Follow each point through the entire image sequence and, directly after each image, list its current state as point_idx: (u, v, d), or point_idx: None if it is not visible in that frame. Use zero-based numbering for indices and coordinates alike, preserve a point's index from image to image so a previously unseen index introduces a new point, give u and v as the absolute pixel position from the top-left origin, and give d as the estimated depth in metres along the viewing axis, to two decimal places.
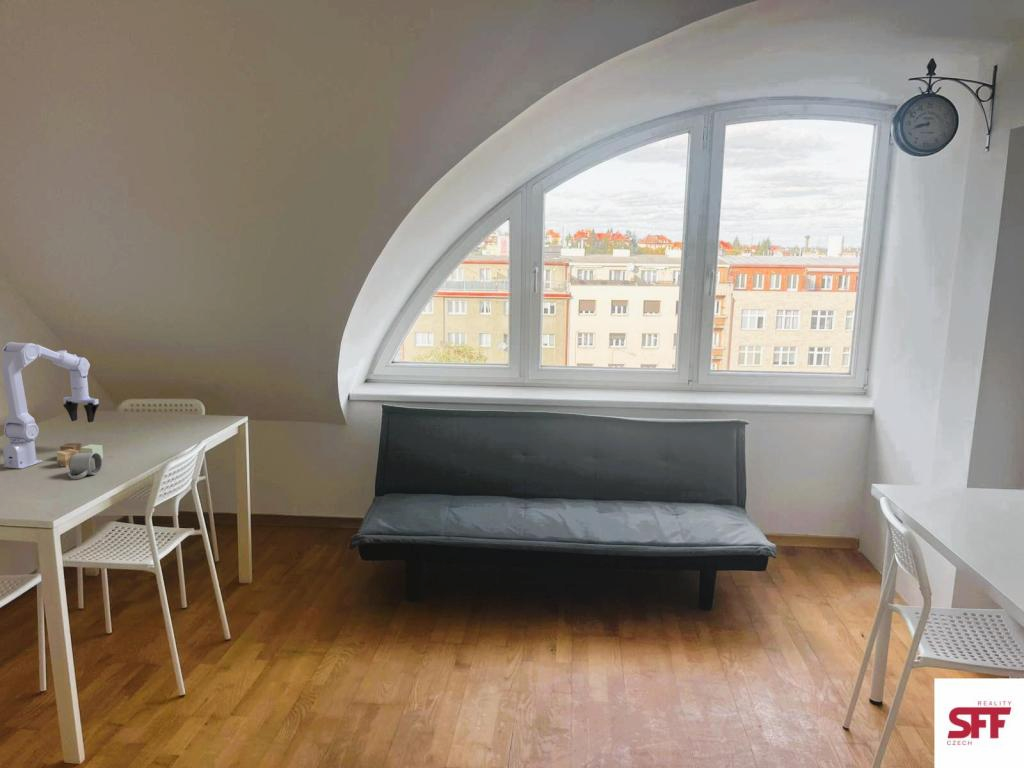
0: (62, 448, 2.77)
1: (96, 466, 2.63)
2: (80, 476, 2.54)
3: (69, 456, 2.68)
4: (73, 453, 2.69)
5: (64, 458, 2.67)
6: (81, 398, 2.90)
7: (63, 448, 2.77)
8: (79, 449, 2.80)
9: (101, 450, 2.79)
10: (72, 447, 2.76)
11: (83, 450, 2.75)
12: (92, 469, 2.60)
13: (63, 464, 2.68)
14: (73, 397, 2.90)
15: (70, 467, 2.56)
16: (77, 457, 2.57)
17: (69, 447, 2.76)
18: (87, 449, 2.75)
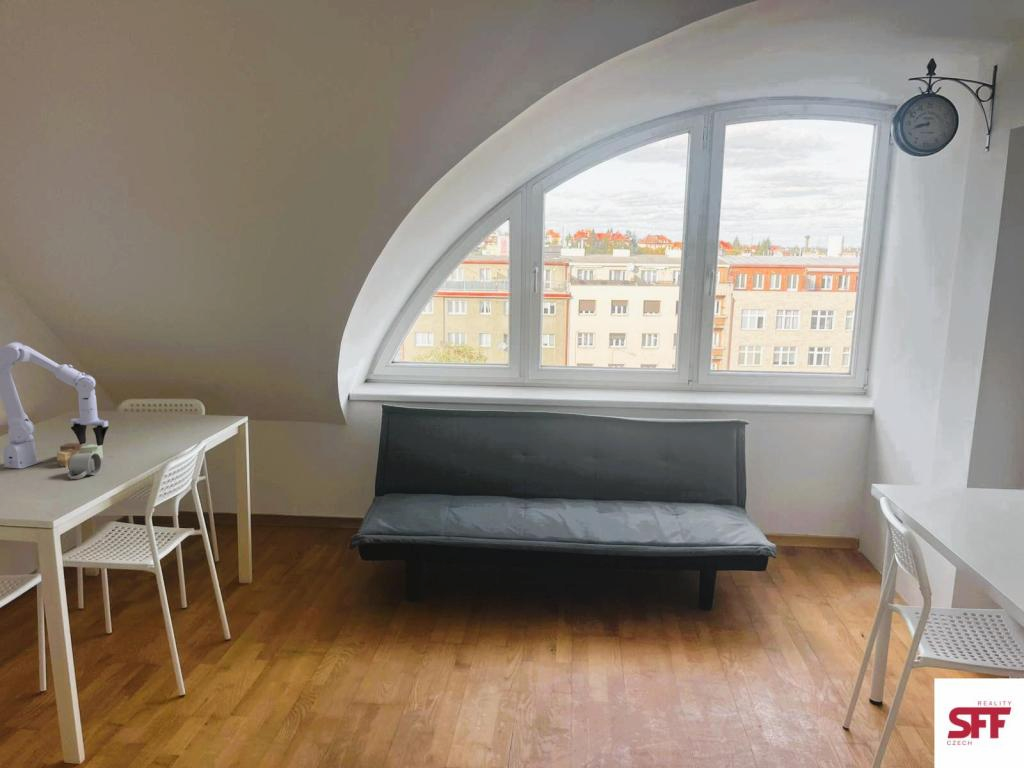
0: (62, 448, 2.77)
1: (95, 466, 2.62)
2: (79, 476, 2.53)
3: (69, 456, 2.68)
4: (73, 453, 2.69)
5: (64, 458, 2.67)
6: (90, 420, 2.73)
7: (63, 448, 2.77)
8: (79, 449, 2.80)
9: (101, 450, 2.79)
10: (72, 447, 2.76)
11: (83, 450, 2.75)
12: (91, 469, 2.59)
13: (63, 464, 2.68)
14: (81, 419, 2.73)
15: (69, 467, 2.56)
16: (76, 458, 2.56)
17: (69, 447, 2.76)
18: (87, 449, 2.75)
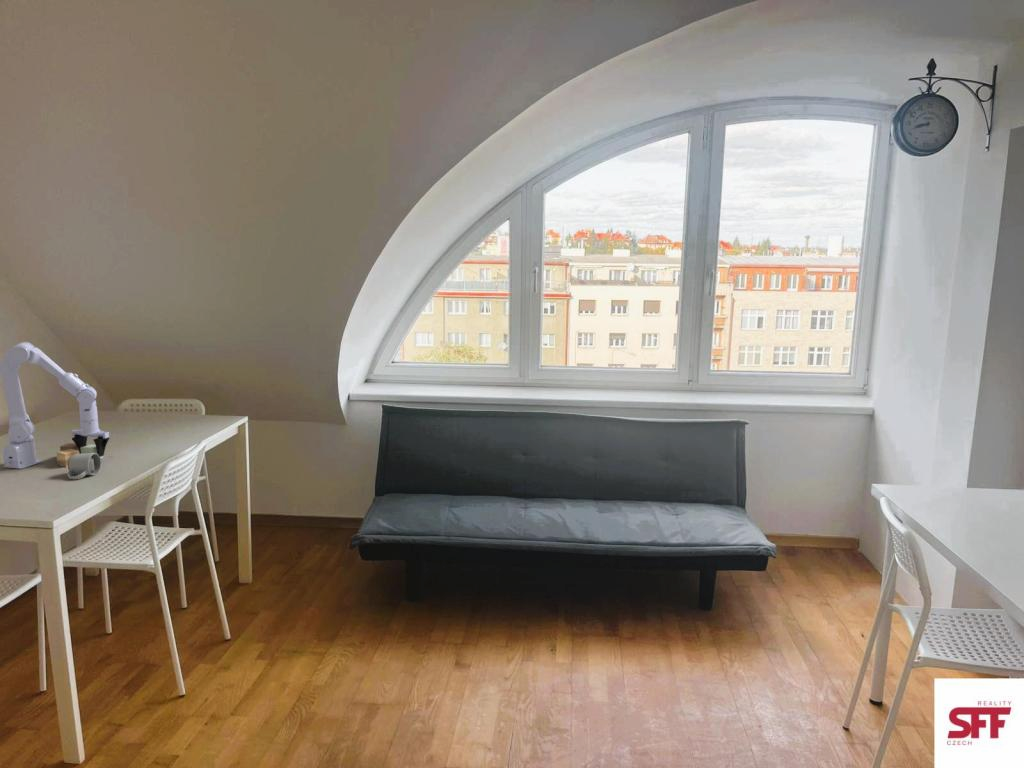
0: (62, 448, 2.77)
1: (95, 466, 2.62)
2: (79, 476, 2.53)
3: (69, 456, 2.68)
4: (73, 453, 2.69)
5: (64, 458, 2.67)
6: (91, 431, 2.74)
7: (63, 448, 2.77)
8: None
9: None
10: (72, 447, 2.76)
11: (83, 450, 2.75)
12: (91, 469, 2.59)
13: (63, 464, 2.68)
14: (82, 430, 2.73)
15: (69, 467, 2.56)
16: (76, 458, 2.56)
17: (69, 447, 2.76)
18: (87, 449, 2.75)
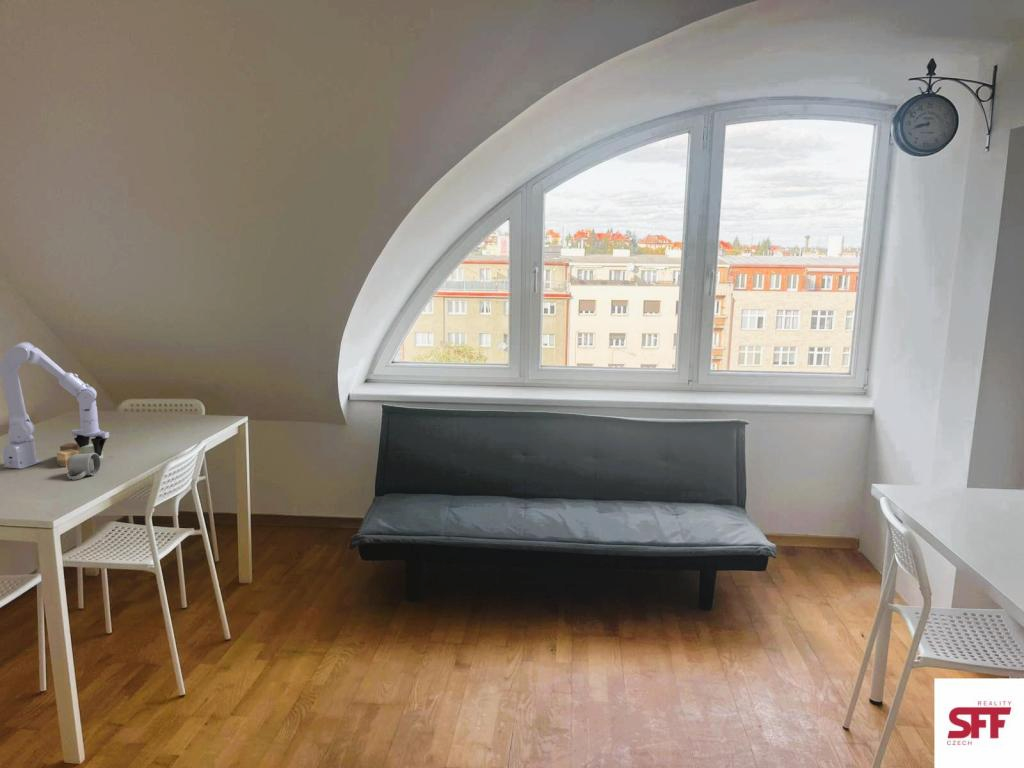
0: (62, 448, 2.77)
1: (95, 467, 2.62)
2: (79, 477, 2.53)
3: (69, 456, 2.68)
4: (73, 453, 2.69)
5: (64, 458, 2.67)
6: (91, 431, 2.74)
7: (63, 448, 2.77)
8: (79, 449, 2.80)
9: None
10: (72, 447, 2.76)
11: (83, 450, 2.75)
12: (91, 470, 2.59)
13: (63, 464, 2.68)
14: (82, 430, 2.73)
15: (69, 468, 2.56)
16: (76, 458, 2.56)
17: (69, 447, 2.76)
18: (87, 449, 2.74)
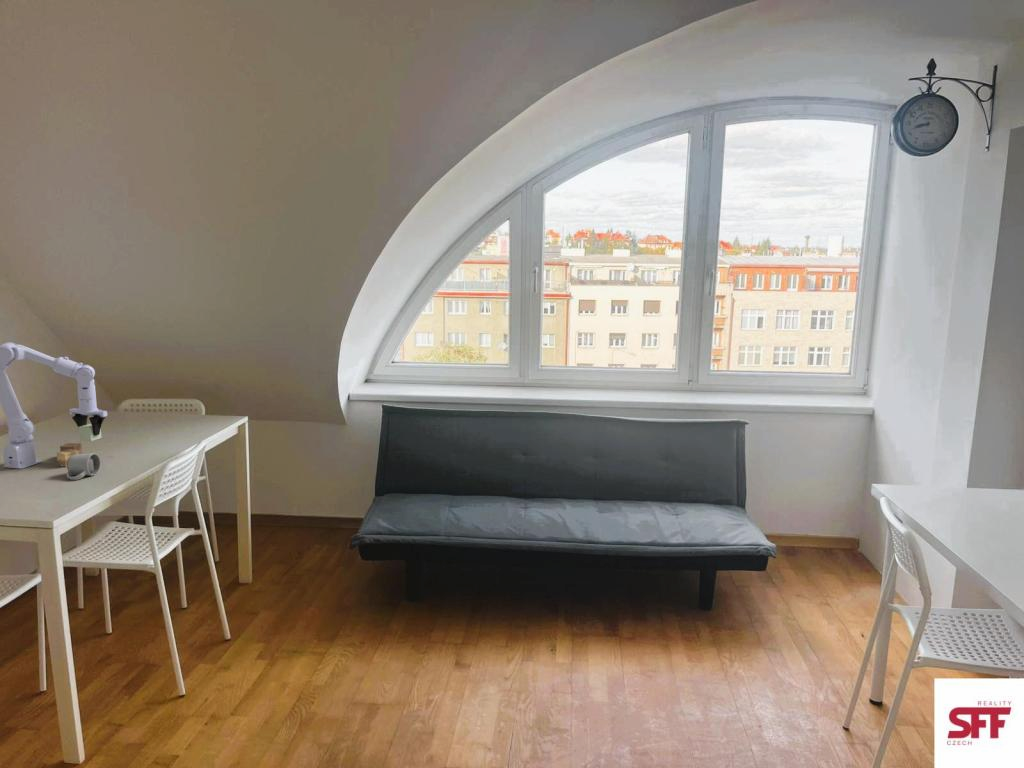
0: (62, 448, 2.77)
1: (94, 467, 2.62)
2: (78, 477, 2.53)
3: (69, 456, 2.68)
4: (73, 453, 2.69)
5: (64, 458, 2.67)
6: (89, 410, 2.72)
7: (63, 448, 2.77)
8: (79, 449, 2.80)
9: None
10: (72, 447, 2.76)
11: (81, 429, 2.74)
12: (90, 470, 2.59)
13: (63, 464, 2.68)
14: (80, 409, 2.72)
15: (68, 468, 2.55)
16: (75, 458, 2.56)
17: (69, 447, 2.76)
18: (85, 428, 2.73)
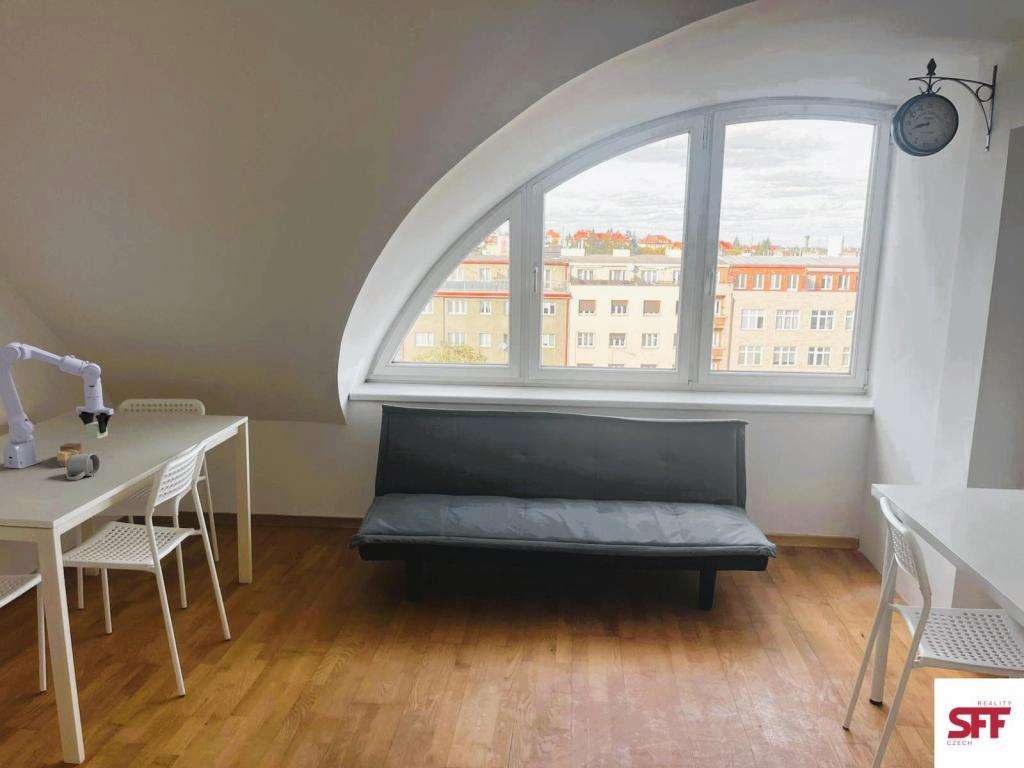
0: (62, 448, 2.77)
1: (94, 467, 2.61)
2: (78, 477, 2.53)
3: (69, 456, 2.68)
4: (73, 453, 2.69)
5: (64, 458, 2.67)
6: (95, 408, 2.74)
7: (63, 448, 2.77)
8: (79, 449, 2.80)
9: None
10: (72, 447, 2.76)
11: (88, 427, 2.75)
12: (90, 470, 2.59)
13: (63, 464, 2.68)
14: (87, 407, 2.74)
15: (68, 468, 2.55)
16: (75, 458, 2.55)
17: (69, 447, 2.76)
18: (92, 426, 2.75)
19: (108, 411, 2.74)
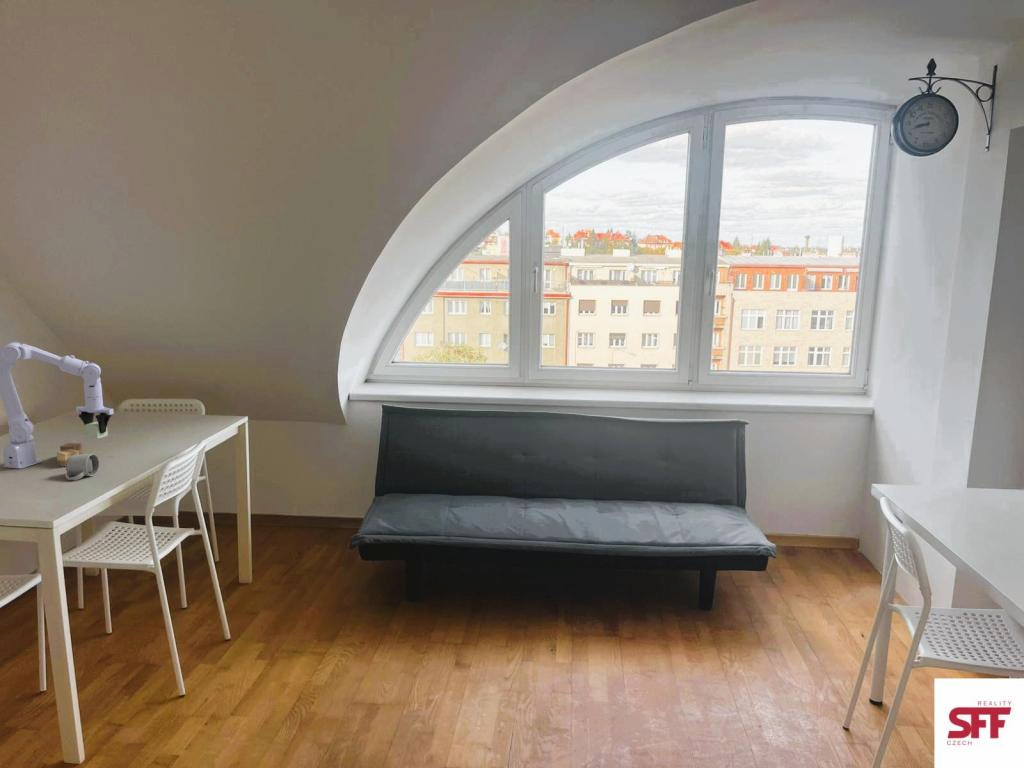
0: (62, 448, 2.77)
1: (93, 467, 2.61)
2: (77, 477, 2.52)
3: (69, 456, 2.68)
4: (73, 453, 2.69)
5: (64, 458, 2.67)
6: (95, 408, 2.74)
7: (63, 448, 2.77)
8: (79, 449, 2.80)
9: None
10: (72, 447, 2.76)
11: (88, 427, 2.75)
12: (89, 470, 2.58)
13: (63, 464, 2.68)
14: (87, 407, 2.74)
15: (67, 468, 2.55)
16: (74, 459, 2.55)
17: (69, 447, 2.76)
18: (92, 426, 2.75)
19: (108, 411, 2.74)
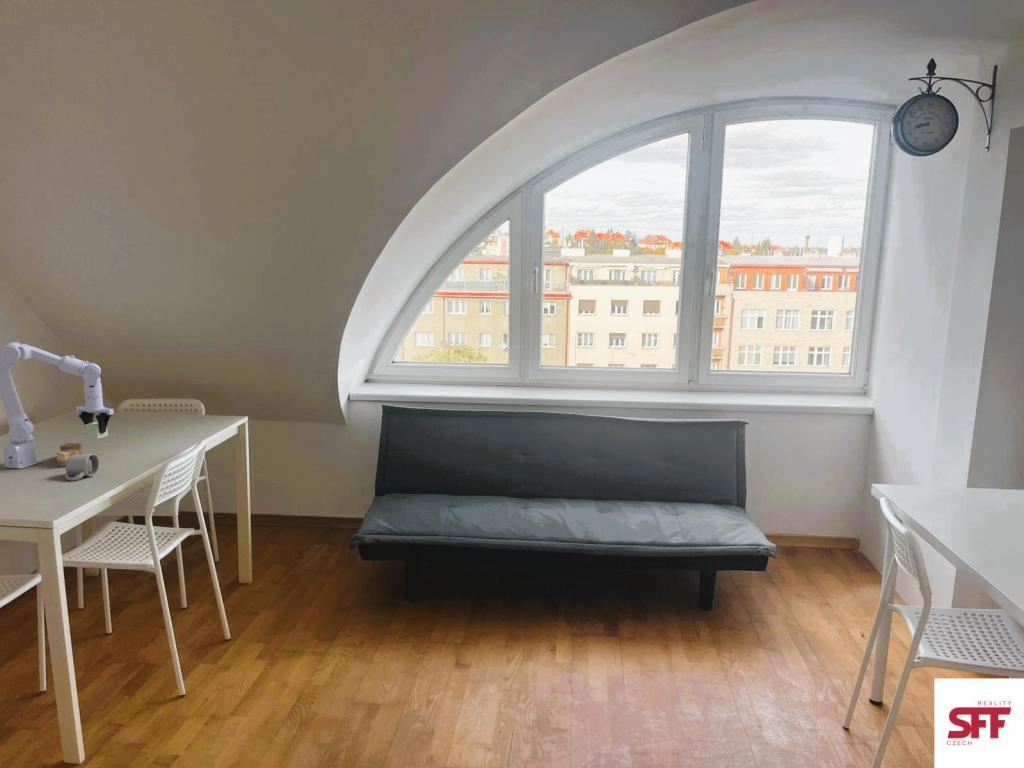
0: (62, 448, 2.77)
1: (93, 467, 2.61)
2: (77, 478, 2.52)
3: (69, 456, 2.68)
4: (73, 453, 2.69)
5: (64, 458, 2.67)
6: (95, 408, 2.74)
7: (63, 448, 2.77)
8: (79, 449, 2.80)
9: None
10: (72, 447, 2.76)
11: (88, 427, 2.75)
12: (89, 470, 2.58)
13: (63, 464, 2.68)
14: (87, 407, 2.74)
15: (67, 468, 2.55)
16: (74, 459, 2.55)
17: (69, 447, 2.76)
18: (92, 426, 2.75)
19: (108, 411, 2.74)
